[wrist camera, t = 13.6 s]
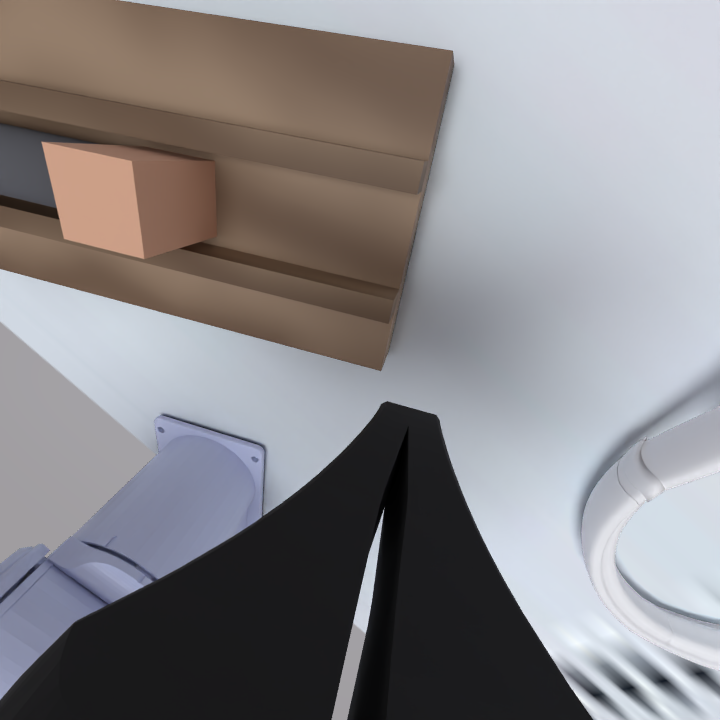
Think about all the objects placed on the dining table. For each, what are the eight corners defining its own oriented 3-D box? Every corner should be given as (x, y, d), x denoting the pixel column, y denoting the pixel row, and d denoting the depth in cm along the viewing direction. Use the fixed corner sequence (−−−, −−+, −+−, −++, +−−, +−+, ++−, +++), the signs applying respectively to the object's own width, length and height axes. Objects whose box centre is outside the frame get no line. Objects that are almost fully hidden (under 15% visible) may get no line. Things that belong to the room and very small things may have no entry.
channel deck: (388, 352, 19) (374, 387, 16) (2, 251, 22) (-69, 265, 20) (454, 64, 13) (451, 37, 10) (-85, -19, 16) (-206, -59, 14)
